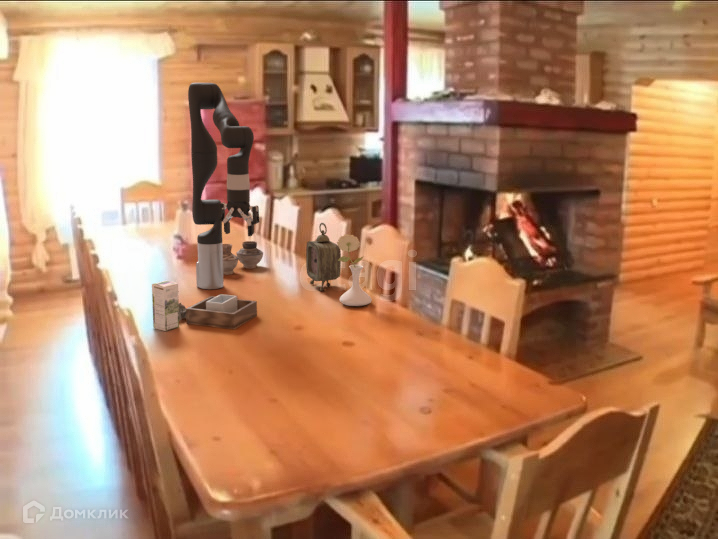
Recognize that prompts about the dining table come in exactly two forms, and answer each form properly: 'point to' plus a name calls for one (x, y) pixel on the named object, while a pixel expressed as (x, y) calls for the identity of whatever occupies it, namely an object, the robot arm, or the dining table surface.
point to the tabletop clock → (323, 259)
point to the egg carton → (182, 311)
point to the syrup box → (165, 305)
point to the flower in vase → (353, 273)
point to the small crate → (222, 303)
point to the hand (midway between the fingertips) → (239, 234)
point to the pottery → (241, 256)
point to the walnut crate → (221, 314)
